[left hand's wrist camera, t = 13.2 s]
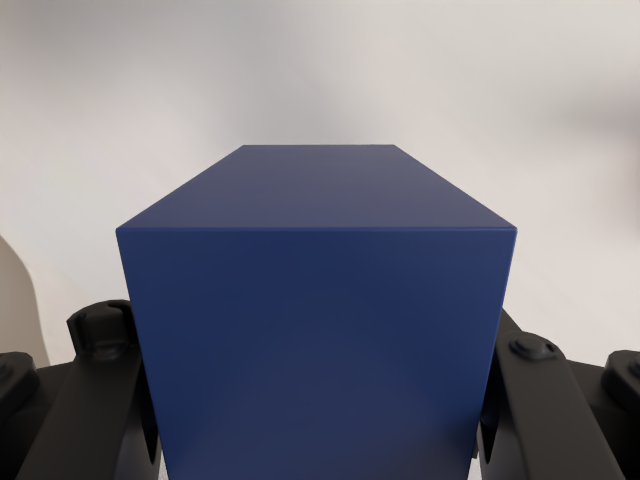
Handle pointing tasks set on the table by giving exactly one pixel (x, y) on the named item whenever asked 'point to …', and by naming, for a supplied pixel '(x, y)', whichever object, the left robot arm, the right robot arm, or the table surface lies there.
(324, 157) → the bar
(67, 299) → the table surface
